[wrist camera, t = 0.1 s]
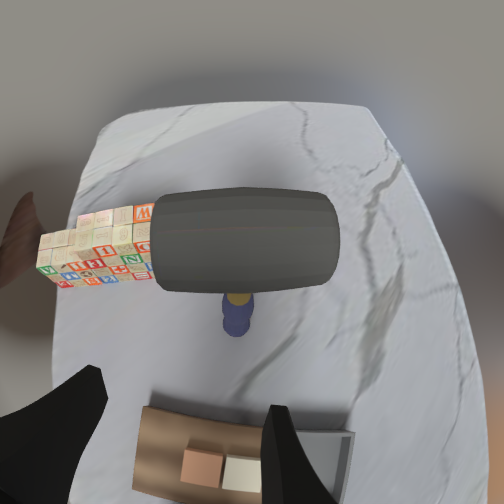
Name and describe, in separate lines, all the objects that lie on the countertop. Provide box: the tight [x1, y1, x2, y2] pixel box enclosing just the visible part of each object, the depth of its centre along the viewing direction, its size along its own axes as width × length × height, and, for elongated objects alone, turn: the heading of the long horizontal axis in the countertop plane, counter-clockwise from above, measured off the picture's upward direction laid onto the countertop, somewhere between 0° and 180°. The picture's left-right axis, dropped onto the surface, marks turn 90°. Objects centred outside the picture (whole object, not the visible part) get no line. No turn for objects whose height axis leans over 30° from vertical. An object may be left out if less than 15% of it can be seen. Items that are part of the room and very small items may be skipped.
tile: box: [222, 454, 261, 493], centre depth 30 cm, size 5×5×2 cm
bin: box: [295, 429, 355, 504], centre depth 32 cm, size 14×10×4 cm
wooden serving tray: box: [132, 406, 263, 504], centre depth 32 cm, size 14×20×3 cm
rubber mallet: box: [150, 187, 340, 337], centre depth 31 cm, size 12×8×30 cm, turn 94°
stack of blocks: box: [36, 203, 155, 288], centre depth 41 cm, size 21×6×12 cm, turn 100°
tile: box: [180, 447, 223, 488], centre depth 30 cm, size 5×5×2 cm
